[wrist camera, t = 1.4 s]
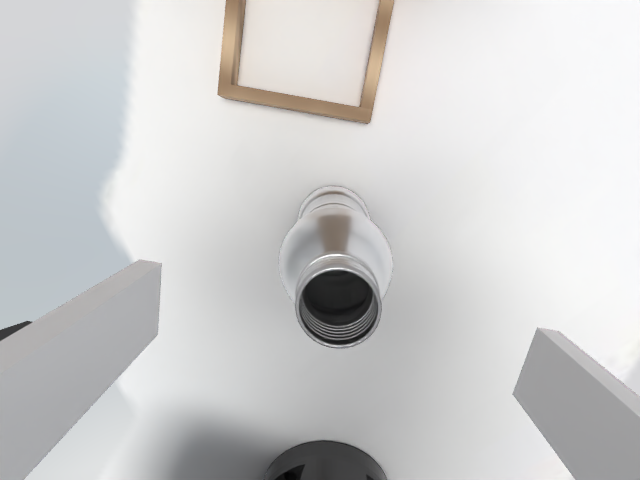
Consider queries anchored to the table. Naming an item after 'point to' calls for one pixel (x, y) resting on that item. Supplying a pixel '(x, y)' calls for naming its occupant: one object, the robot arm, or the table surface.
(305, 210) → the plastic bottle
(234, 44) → the headboard holder
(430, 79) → the table surface
